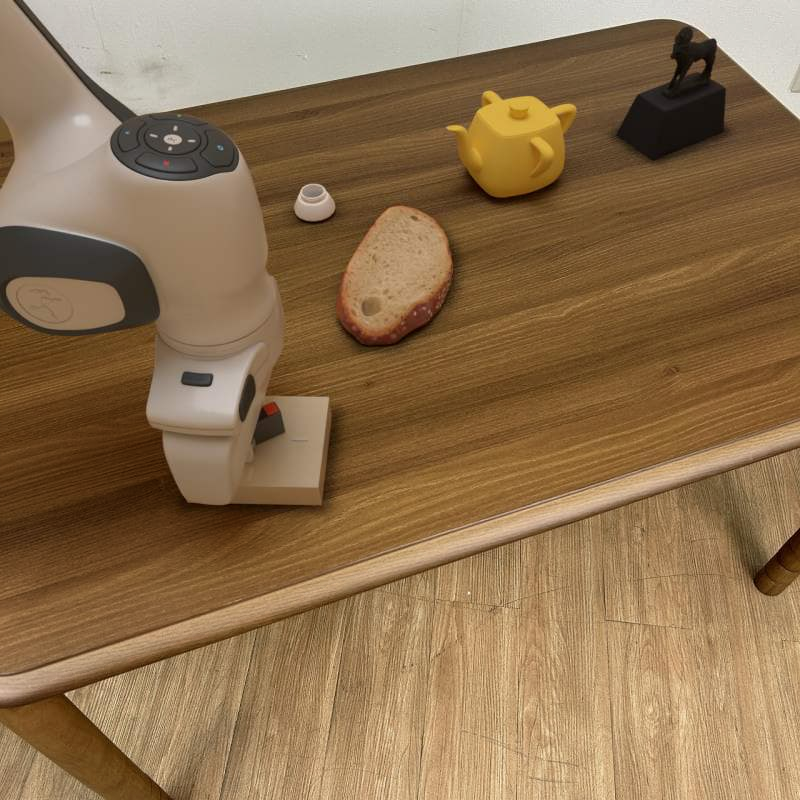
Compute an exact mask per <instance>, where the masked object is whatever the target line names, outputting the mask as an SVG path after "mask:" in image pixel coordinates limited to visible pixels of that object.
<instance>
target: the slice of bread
mask: <svg viewBox="0 0 800 800" xmlns="http://www.w3.org/2000/svg"><path fill="white" fill-rule="evenodd" d="M453 264H454V263H453V260H452V252H451V248H450V242H449V239H448V237H447V235H446V233H445V231H444V229H443V228H442V227H441V225H440V224H439V222H438V221H436V219H435V218H433V217H432V216H430V215H429V214H427V213H425V212H423V211H421V210H420V209H418V208H414V207H410V206H406V205H395V206H391V207H388V208H387V209H386V210H385V211H384V212H383V213H381V215H380V216H378V217H377V218H376V219H375V221H374V223H373V225H371V226H370V228H369V230H368V231H367V232H366V234H365V235H364V237H363V238H362V240H361V241H360V243H359V244H358V245H357V247H356V249H355V251H354V253H353V255H352V256H351V258H350V260H349V261H348V263H347V265H346V268H345V269H344V272H343V275H342V278H341V280H340V282H339V287H338V291H337V295H336V300H335V314H336V316H337V318H338V320H339V322H340V324H341V325H342V326H343V328H344V329H345V330H346V331H347V332H348V333H349V334H351V335H352V336H353V337H354V338H355V339H356V340H357V341H358V342H359V343H360V344H362V345H365V346H377V345H380V346H385V345H392V344H395V343H398V342H399V341H400V340H401V339H403V338H404V337H405V336H406V335H408V334H409V333H410V332H412V331H413V330H416V329H418V328H420V327H422V326H424V325H426V324H427V323H428V322H429V321H430V320H431V319H432V318H433V317H434V316H435V315H436V314H437V313H438V312H439V311H440V309H441V308H442V305H443V303H444V302H445V300H446V298H447V295H448V292H449V290H450V287H451V285H452V279H453V274H454V273H453V272H454V265H453Z"/></svg>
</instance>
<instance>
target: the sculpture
mask: <svg viewBox="0 0 800 800" xmlns="http://www.w3.org/2000/svg"><path fill="white" fill-rule="evenodd" d="M693 36H694V30H693V28H692V27H690V26H684V27H682V28H681V29H680V30H679V32H678V34H676V35H675V37H674V43H673V45H672V52H671V54H670V55H669V58H670V59H671V60H674V61H676V62H675V63H676V64H677V65H676V67H675V70H674V72H673V73H674V74H673V76H672V78H671V80H670V81H669V82H666V83H664V84H661V85H658V86H655V87H653V88H650V89H647V90H645V91H642V92H639V93H637V95H636V96H635V98H634V100H633V102H632V103H631V105H630V107H629V109H628V111H627V113H626V115H625V117H624V119H623V120H622V122H621V124H620V125H619V128H618V130H617V131H616V134H615V135H616V136H617V137H619V138H620V139H622V140H623V141H624V142H626V143H627V144H629V145H630V146H632V147H633V148H634V149H636V150H637V151H639V152H641V153H642V154H643V155H645V156H646V157H648V158H649V159H651V160H652V161H656V160H658V159H659V158H663V157H664V156H666V155H668V154H670V153H673V152H676V151H679V150H682V149H685V148H687V147H689V146H692V145H694V144H697V143H699V142H700V143H701V142H702V141H704V140H706V139H708V138H711V137H713V136H716V135H718V134H720V133H723V132H724V131H725V129H724V127H725V115H726V96H727V92H726V91H727V90H726V89H727V88H726V87H725V86H724V85H722V84H721V83H719V82H717V81H715V80H714V79H712V78H711V77H712V72H713V69H714V64H715V62H716V57H717V56H716V54H717V49H718V42H717V39H716V38H715V37H713V38H712V37H711V38H709V39H705V40H703V41H700V42H696V41H692V39H693ZM701 60H703V61H704V62H705V65H704V68H703V70H702V71H700V72H698V71H697V72H692V73H689V74H688V72H689V70H690V68H691V67H692V66H693V64H694V63H697V62H698V61H701Z"/></svg>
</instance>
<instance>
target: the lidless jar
mask: <svg viewBox="0 0 800 800" xmlns="http://www.w3.org/2000/svg"><path fill="white" fill-rule="evenodd" d="M293 210H294V214H295V215H296V216H297V217H298V218H299V219H301V220H303V221H306V222H318V221H319V222H320V221H323V220H326V219H328V218H330V217H331V216H332V214H334V213H335V210H336V203H335V200H334V199H333V197H332V196H331V195H330V194H329V192H328V191H327V190H326V188H325V186H323V185H322V184H319V183H309V184H306V185H304V186H302V187H301V189H300V191H299V193H298V195H297V198H296V200H295V202H294V206H293Z"/></svg>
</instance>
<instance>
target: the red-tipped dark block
mask: <svg viewBox="0 0 800 800" xmlns="http://www.w3.org/2000/svg"><path fill="white" fill-rule="evenodd" d="M284 432H285V427H284V422H283V418H282V414H281V411H280V409H279V408H278V406H277V404H276V403H275V402H271V403H268V404H266V405H264V406H263V407H261V411H260V414H259V417H258V421H257V424H256V428H255V431H254V434H253V438H255V442H256V445H258V444H260V443H262V442H265V441H267V440H269V439H271V438H273V437H276V436H278V435H280V434H282V433H284Z"/></svg>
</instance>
